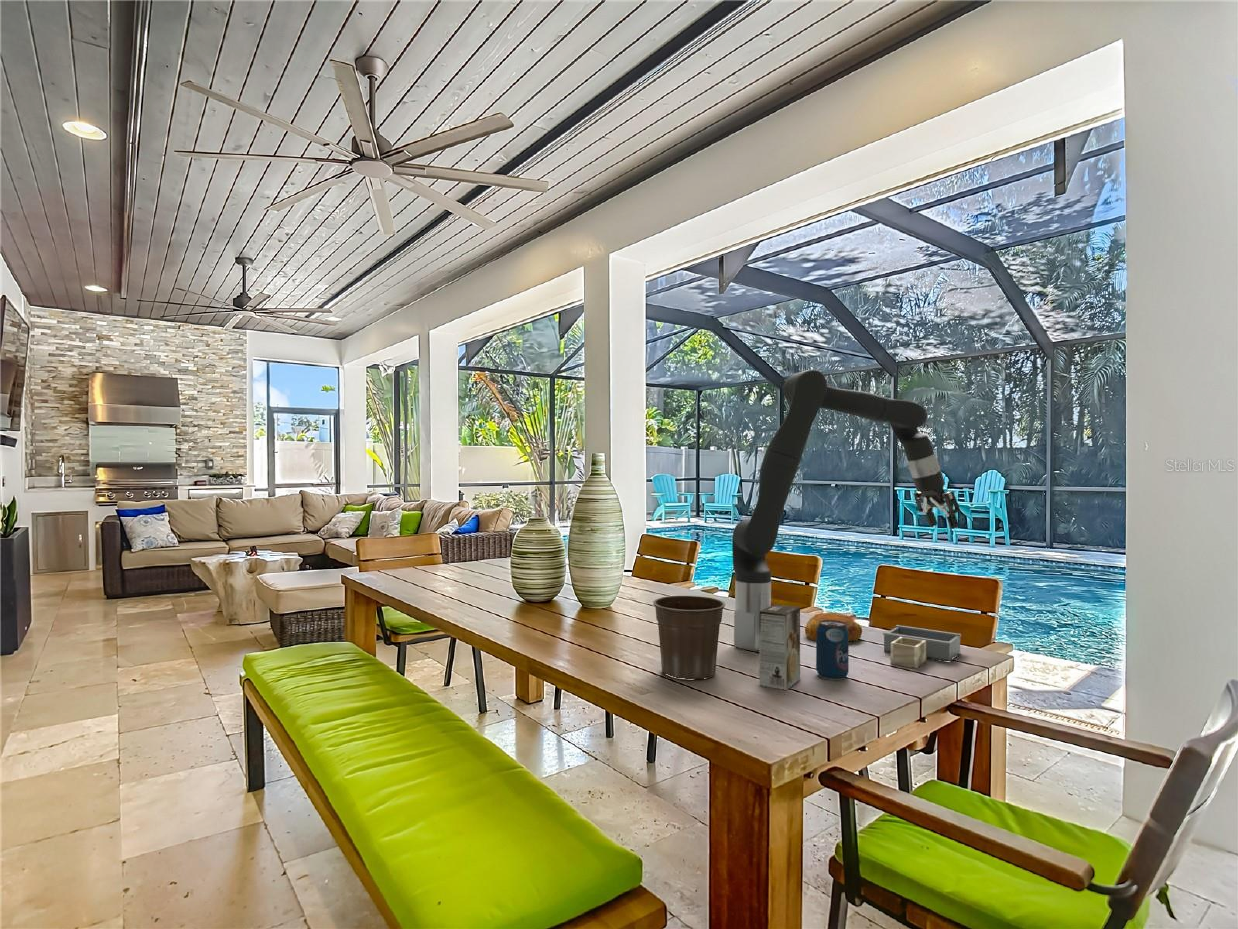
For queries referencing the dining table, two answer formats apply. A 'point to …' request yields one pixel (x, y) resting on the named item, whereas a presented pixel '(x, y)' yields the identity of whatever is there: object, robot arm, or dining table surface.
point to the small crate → (908, 652)
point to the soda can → (832, 650)
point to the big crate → (927, 641)
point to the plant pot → (688, 635)
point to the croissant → (851, 625)
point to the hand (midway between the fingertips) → (944, 526)
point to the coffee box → (779, 646)
